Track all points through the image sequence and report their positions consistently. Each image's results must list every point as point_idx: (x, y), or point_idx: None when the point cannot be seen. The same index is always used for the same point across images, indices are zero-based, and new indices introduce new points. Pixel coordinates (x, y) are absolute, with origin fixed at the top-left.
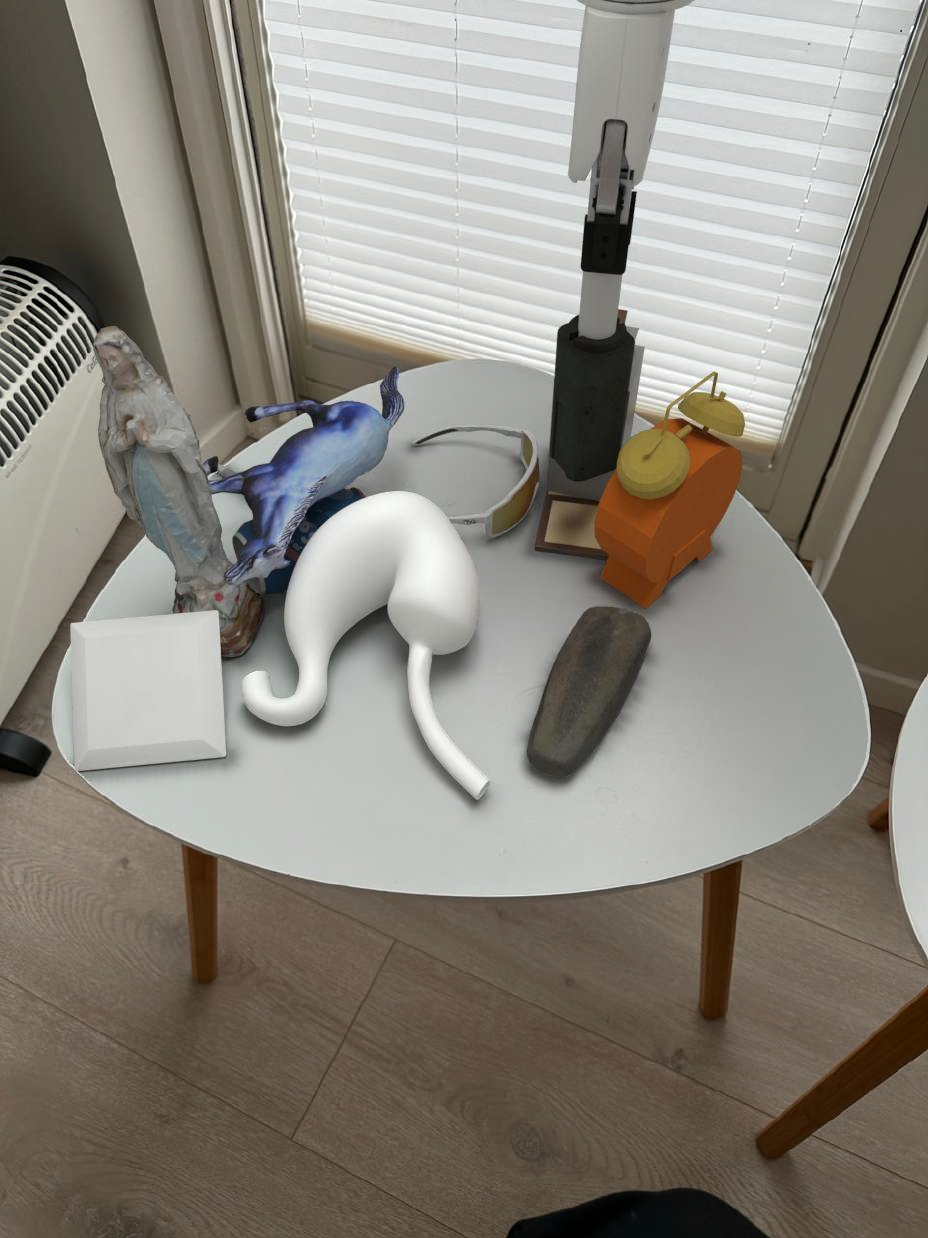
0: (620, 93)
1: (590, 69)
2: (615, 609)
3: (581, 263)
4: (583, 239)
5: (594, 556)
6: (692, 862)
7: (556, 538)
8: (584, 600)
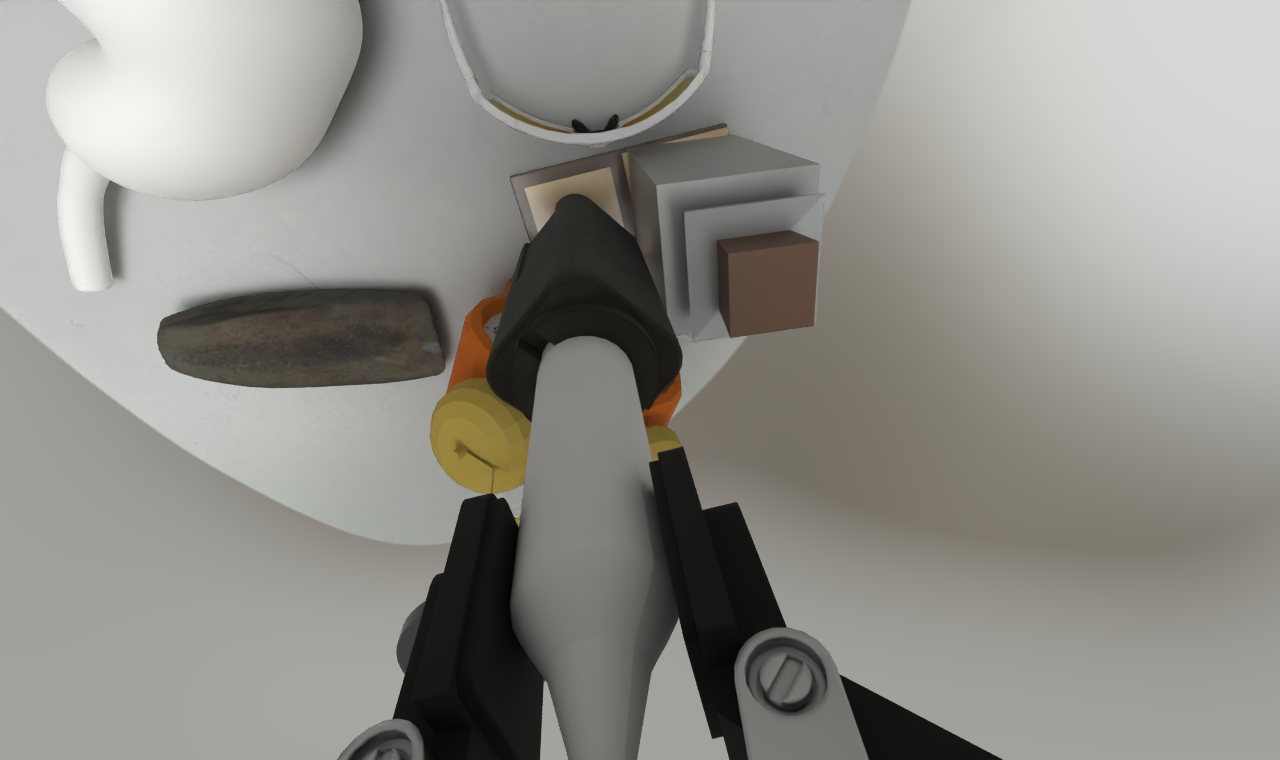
0: None
1: None
2: (428, 337)
3: (458, 516)
4: (436, 600)
5: None
6: (228, 473)
7: (537, 203)
8: (463, 274)
